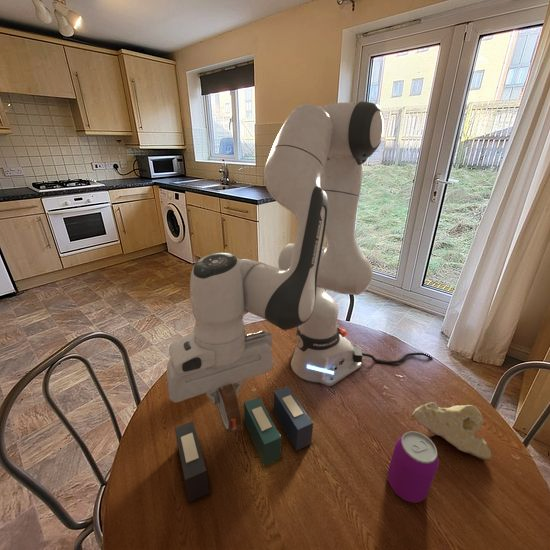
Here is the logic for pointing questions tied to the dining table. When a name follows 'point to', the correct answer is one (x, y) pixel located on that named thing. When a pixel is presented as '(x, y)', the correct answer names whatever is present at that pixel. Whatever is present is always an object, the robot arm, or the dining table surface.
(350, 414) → the dining table surface
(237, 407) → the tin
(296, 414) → the block
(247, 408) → the block
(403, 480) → the beverage can
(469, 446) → the cheese
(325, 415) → the dining table surface
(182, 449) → the block
